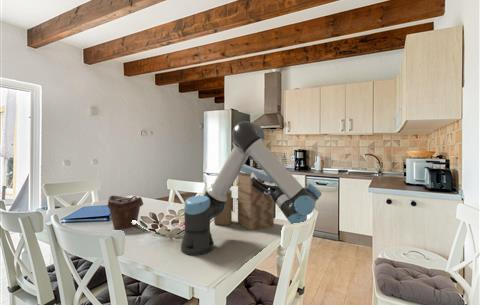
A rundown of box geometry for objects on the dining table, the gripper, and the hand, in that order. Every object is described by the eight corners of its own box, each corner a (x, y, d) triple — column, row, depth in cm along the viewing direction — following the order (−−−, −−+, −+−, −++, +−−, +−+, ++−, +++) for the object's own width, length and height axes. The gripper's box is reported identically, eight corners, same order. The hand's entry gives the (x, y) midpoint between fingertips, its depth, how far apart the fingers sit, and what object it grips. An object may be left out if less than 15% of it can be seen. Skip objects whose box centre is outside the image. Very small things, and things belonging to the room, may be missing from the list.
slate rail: (270, 183, 134) (271, 177, 133) (237, 169, 151) (237, 163, 150) (274, 182, 136) (275, 176, 135) (241, 168, 153) (241, 163, 152)
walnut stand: (250, 229, 140) (250, 174, 140) (237, 222, 154) (237, 172, 154) (273, 225, 148) (273, 173, 147) (259, 218, 162) (259, 171, 161)
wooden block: (216, 220, 159) (216, 189, 158) (231, 220, 158) (231, 189, 158) (213, 225, 149) (213, 192, 148) (230, 225, 149) (230, 192, 148)
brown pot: (148, 224, 149) (147, 195, 149) (112, 232, 136) (111, 200, 136) (137, 218, 163) (137, 191, 162) (103, 225, 149) (103, 196, 149)
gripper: (258, 207, 117) (240, 180, 133) (299, 202, 128) (278, 178, 144) (262, 195, 113) (244, 169, 129) (304, 191, 125) (282, 167, 141)
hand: (262, 173), depth 137 cm, fingers open, 13 cm apart
